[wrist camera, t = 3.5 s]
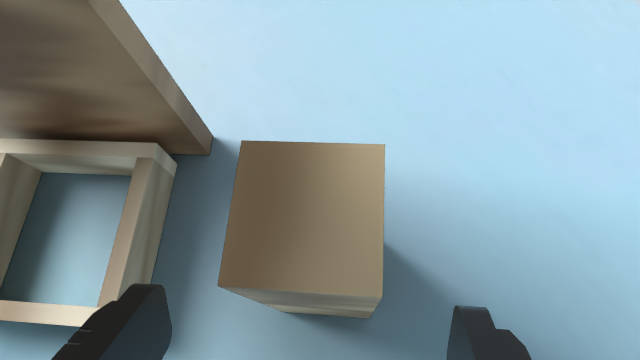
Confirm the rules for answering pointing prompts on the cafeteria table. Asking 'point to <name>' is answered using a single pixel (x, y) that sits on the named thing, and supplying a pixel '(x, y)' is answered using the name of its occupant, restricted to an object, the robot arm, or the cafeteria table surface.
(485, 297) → the cafeteria table surface
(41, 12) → the awning socket
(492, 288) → the cafeteria table surface
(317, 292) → the peg
